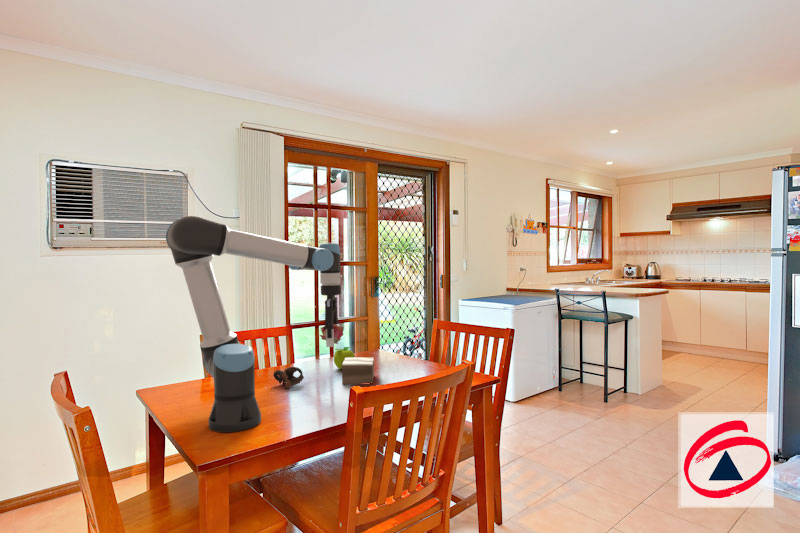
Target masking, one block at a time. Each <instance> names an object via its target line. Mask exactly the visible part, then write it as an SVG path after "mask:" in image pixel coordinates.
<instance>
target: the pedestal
mask: <svg viewBox="0 0 800 533" xmlns="http://www.w3.org/2000/svg"><path fill="white" fill-rule="evenodd" d="M373 378H374V379H375V357H373V356H369V357H366V356H365V357H363V356H362V357H354V358H345V360H344V362H343V364H342V370H341V382H342V383H341V384H350V385H351V386H352V385H353V384H355V385H362V384H361V383H371V382H373V383H374V379H373Z"/></svg>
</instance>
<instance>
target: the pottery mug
mask: <svg viewBox="0 0 800 533" xmlns="http://www.w3.org/2000/svg"><path fill="white" fill-rule="evenodd" d="M297 372H298V374H299V376H295V375H294V374H295V373H297ZM273 378H274V380H276V381H277V382H278V383H279V384H285V386H284V387H285V388H286V389H288V390H289V389H290V388H291V387H294V386H296V385H299V384H300V383H301V382H302V381H303V380H304V375H303V371H302V369H301V368H299V367H296V366H287V367H286V368H285V369H284V370H280V369H278V370H275V371H274V372H273Z"/></svg>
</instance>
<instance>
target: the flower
mask: <svg viewBox="0 0 800 533" xmlns="http://www.w3.org/2000/svg"><path fill="white" fill-rule="evenodd" d="M324 327H325V325H324V326H322V327H320V331H321V334H319V337H321V338H320V339H321V340H324V341H326V329H324ZM333 329H334V345H335V344H336V345H338V344H339V343H340V341H341V340H343V336H344V326H342V325H341V326H338V325H337V326H336V324H333Z"/></svg>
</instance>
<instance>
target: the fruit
mask: <svg viewBox="0 0 800 533" xmlns="http://www.w3.org/2000/svg"><path fill="white" fill-rule="evenodd" d="M334 350H335V352H334V353H333V355H334V356H333V363H334V365H335V366H336V367H337V369H339V370H341V369H342V364H343V362H344V360H345V358H354V357H355V356H356V355H355V353H354V352H353V351H352V350H350V346H343V348H335V349H334Z"/></svg>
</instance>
